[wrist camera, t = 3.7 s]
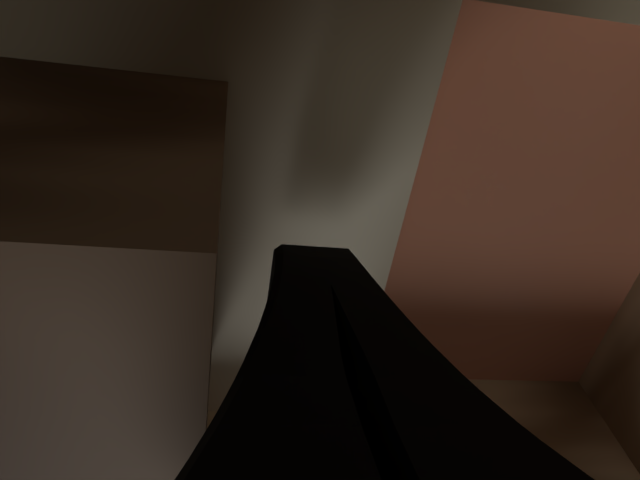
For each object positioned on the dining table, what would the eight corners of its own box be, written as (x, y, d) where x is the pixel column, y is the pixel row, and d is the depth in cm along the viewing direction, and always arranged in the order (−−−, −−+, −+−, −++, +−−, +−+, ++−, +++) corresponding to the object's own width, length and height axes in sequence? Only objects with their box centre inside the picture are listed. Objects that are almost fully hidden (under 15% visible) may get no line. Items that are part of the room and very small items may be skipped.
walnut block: (227, 81, 9) (215, 253, 5) (212, 350, 12) (196, 591, 8) (-190, 35, 8) (-648, 204, 4) (-91, 342, 11) (-286, 614, 7)
